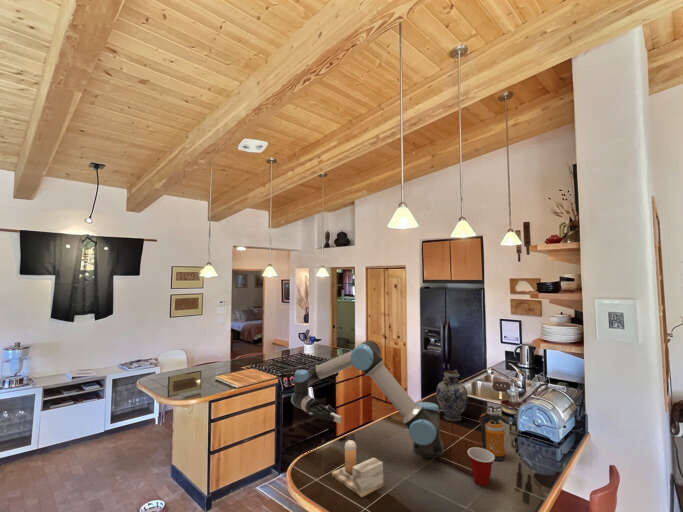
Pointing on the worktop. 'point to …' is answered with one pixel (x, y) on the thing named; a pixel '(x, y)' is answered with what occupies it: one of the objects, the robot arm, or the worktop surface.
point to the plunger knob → (350, 456)
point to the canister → (493, 435)
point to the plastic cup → (481, 465)
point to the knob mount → (362, 477)
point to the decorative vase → (452, 396)
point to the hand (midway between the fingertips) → (339, 419)
